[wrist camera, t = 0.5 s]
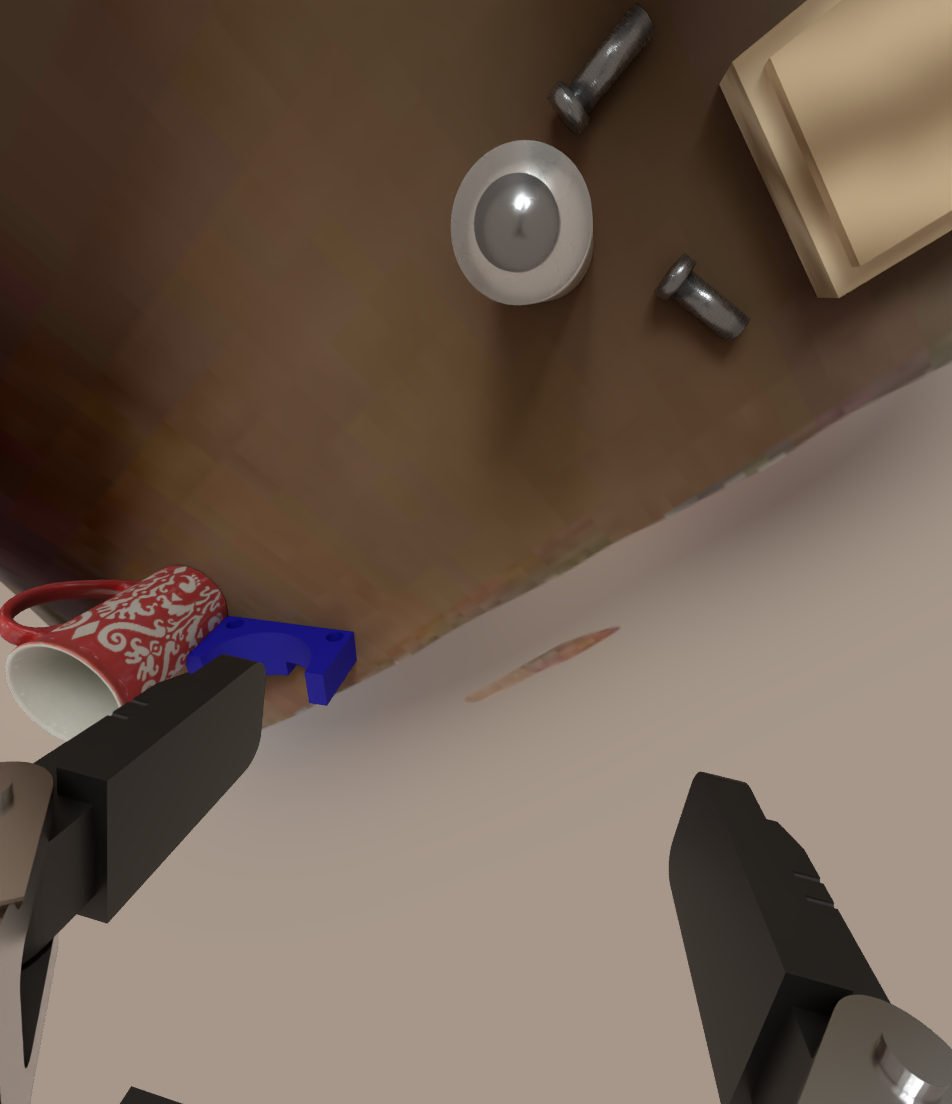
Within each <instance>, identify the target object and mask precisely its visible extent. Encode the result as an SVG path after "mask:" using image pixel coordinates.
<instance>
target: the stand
mask: <svg viewBox="0 0 952 1104" xmlns="http://www.w3.org/2000/svg"><path fill="white" fill-rule="evenodd" d="M719 85H720V87H721V90H722V92H723V94H724V96H725V98H726V100H727V103H728V105H729V107H730V109H731V111H732V113H733V116H734V118H735V120H736V122H737V124H738V126H739V129H740V131H741V133H742V135H743V137H744V139H745V142H746V144H747V146H748V148H749V150H750V152H751V155H752V157H753V159H754V161H755V163H756V165H757V167H758V170H759V172H760V174H761V176H762V178H763V180H764V183H765V185H766V187H767V189H768V191H769V193H770V196H771V198H772V200H773V202H774V204H775V206H776V209H777V211H778V213H779V215H780V217H781V219H782V222H783V224H784V226H785V228H786V230H787V232H788V235H789V237H790V239H791V241H792V243H793V245H794V247H795V250H796V252H797V254H798V256H799V258H800V260H801V263H802V265H803V267H804V269H805V271H806V273H807V276H808V278H809V280H810V282H811V284H812V286H813V289H814V291H815V293H816V295H817V297H818V298H840V297H842V296H843V295H845V294H847V293H848V292H850V291H852V290H853V289H855V288H857V287H858V286H860V285H861V284H863V283H865V282H866V281H868V280H870V279H871V278H873V277H875V276H876V275H878V274H880V273H881V272H883V271H885V270H886V269H888V268H890V267H891V266H893V265H895V264H896V263H898V262H900V261H901V260H903V259H905V258H906V257H908V256H910V255H911V254H913V253H914V252H916V251H918V250H919V249H921V248H923V247H924V246H926V245H928V244H929V243H931V242H933V241H934V240H936V239H938V238H939V237H941V236H943V235H944V234H946V233H948V232H949V231H951V230H952V0H807V1H805V2H804V3H803V4H802V5H800V6H799V7H798V8H797V9H796V10H794V11H793V12H792V13H791V14H790V15H788V16H787V17H786V18H785V19H783V20H782V21H781V22H780V23H779V24H777V25H776V26H775V27H774V28H773V29H771V30H770V31H769V32H768V33H766V34H765V35H764V36H763V37H762V38H760V39H759V40H758V41H757V42H756V43H754V44H753V45H752V46H751V47H749V48H748V49H747V50H746V51H745V52H743V53H742V54H741V55H740V56H739V57H737V58H736V59H735V60H734V61H732V63H731V65H730V66H729V68H728V70H727V71H726V73H725V75H724V77H723V78H722V80H721V82H720V83H719Z"/></svg>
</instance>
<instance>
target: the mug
mask: <svg viewBox="0 0 952 1104" xmlns="http://www.w3.org/2000/svg"><path fill="white" fill-rule="evenodd" d="M93 597H111V598H110V599H108V600H106V601H105V602H103V603H101V604H99V605H98V606H96V607H94V608H92V609H90V610H88V611H87V612H85V613H83V614H81V615H79V616H78V617H76V618H74V619H72V620H70V621H68V622H67V623H65V624H58V625H54V626H50V627H41V628H40V627H39V628H33V627H27V626H23V625H20V624H18V623H17V622H15V621H14V620H13V618H14V617H15V616H16V615H17V614H19V613H20V612H21V611H23V610H25V609H27V608H30V607H32V606H35V605H38V604H42V603H46V602H51V601H58V600H65V599H77V598H93ZM226 617H227V606H226V602H225V599H224V597H223V595H222V593H221V591H220V590H219V588H218V587H217V586H216V585H215V583H214V582H213V581H211V580H210V579H209V578H208V577H207V576H205V575H204V574H202V573H201V572H199V571H197V570H195V569H192V568H189V567H186V566H178V565H176V566H169V567H166V568H163V569H161V570H159V571H157V572H156V573H154V574H152V575H151V576H149V577H147V578H146V579H144V580H142V581H123V580H84V581H69V582H59V583H52V584H47V585H43V586H38V587H35V588H32V589H29V590H26V591H24V592H22V593H20V594H18V595H16V596H14V597H13V598H11V599H9V600H8V601H7V602H6V603H5V604H4V605H3V606H2V608H1V609H0V635H1V636H2V637H3V638H4V639H5V640H6V641H8V642H9V643H11V644H14V645H17V647H16V648H15V649H14V650H13V651H12V652H11V653H10V654H9V656H8V658H7V661H6V666H5V674H6V680H7V684H8V687H9V690H10V692H11V694H12V696H13V697H14V699H15V700H16V702H17V704H18V705H19V706H20V707H21V709H22V710H23V711H24V712H25V713H26V714H27V715H28V716H29V717H30V718H31V719H32V720H33V721H34V722H35V723H36V724H37V725H39V726H40V727H42V728H43V729H44V730H46V731H47V732H49V733H50V734H52V735H54V736H56V737H58V738H60V739H62V740H64V741H66V742H67V741H68V740H70V739H72V738H73V737H75V736H76V735H78V734H79V733H81V732H82V731H84V730H85V729H87V728H88V727H90V726H91V725H93V724H95V723H96V722H98V721H99V720H101V719H102V718H104V717H105V716H107V715H110V716H111V715H112V713H113V711H115V710H116V709H118V708H119V707H121V706H122V705H124V704H125V703H127V702H132V700H133V698H135V697H136V696H138V695H139V694H141V693H142V692H144V691H145V690H147V689H148V688H150V687H151V686H153V685H155V684H156V683H159V682H161V681H164V680H167V679H170V678H173V677H175V676H176V675H177V674H178V673H179V672H180V670H181V669H182V668H183V667H184V666H185V665H186V660H187V655H188V654H189V653H190V652H191V651H192V650H193V649H194V648H195V647H197V646H198V645H199V644H200V642H201V641H203V640H204V639H205V638H206V637H207V636H208V635H209V634H210V633H211V632H212V631H213V630H214V629H215V628H216V627H217V626H218V625H219V624H220V623H221V622H222V621H223V620H224V619H225V618H226Z"/></svg>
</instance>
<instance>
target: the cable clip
mask: <svg viewBox="0 0 952 1104" xmlns="http://www.w3.org/2000/svg"><path fill="white" fill-rule="evenodd" d="M222 654H227V655H231V656H235V657H239V658H244V659H248V660H252V661H256V662H260V663H262V664H263V665H264V666H265V670H266V675H289V674H290V672H291V671H292V670H293V669H294V667H295V666H296V664H297V665H299V666H302V667H303V668H305V669H306V671H305V678H306V684H307V691H308V698H309V703H313V704H319V705H326V706H327V705H328V703H329V702H330V700H331V699H332V697H333V696H334V694H335V693H336V691H337V690H338V688H339V687H340V685H341V683H342V682H343V680H344V679H345V677H346V676H347V674H348V673H349V671H350V670H351V668H352V667H353V665H354V664H355V662H356V661H357V659H356V649H355V639H354V632H350V631H342V630H335V629H327V628H319V627H311V626H303V625H295V624H288V623H280V622H272V621H264V620H256V619H248V618H241V617H233V616H228V617H226V618H225V619H224V620H223V621H222V622H221V623H220V624H219V625H218V626H217V627H216V628H215V629H214V630H213V631H212V632H211V633H210V634H209V635H208V636H207V637H206V638H205V639H204V640H203V641H201V642H200V644H199V645H198V646H197V647H195V648H194V649H193V650H192V651H191V652H190V653H189V654H188V655H187V660H186V666H187V670H188V673H190V674H193V673H194V672H196V671H197V670H198V669H200V668H201V667H203V666H204V665H206V664H207V663H209V662H210V661H212V660H213V659H214V658H216V657H217V656H219V655H222Z"/></svg>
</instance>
